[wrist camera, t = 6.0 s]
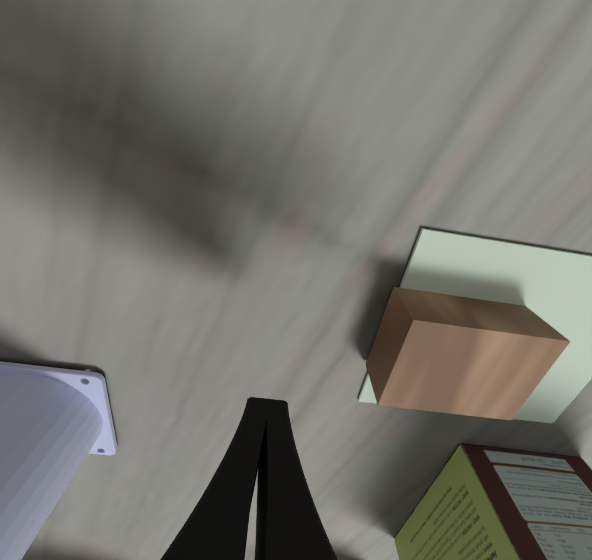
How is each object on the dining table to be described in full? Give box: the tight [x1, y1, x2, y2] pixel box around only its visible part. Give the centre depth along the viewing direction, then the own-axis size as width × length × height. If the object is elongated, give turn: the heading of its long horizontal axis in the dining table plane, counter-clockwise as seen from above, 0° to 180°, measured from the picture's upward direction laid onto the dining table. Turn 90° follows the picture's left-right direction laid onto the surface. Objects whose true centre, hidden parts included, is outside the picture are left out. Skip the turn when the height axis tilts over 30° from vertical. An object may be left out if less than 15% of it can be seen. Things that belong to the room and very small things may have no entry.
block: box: [366, 287, 571, 420], centre depth 16 cm, size 3×6×8 cm
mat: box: [358, 228, 592, 424], centre depth 18 cm, size 14×12×1 cm
